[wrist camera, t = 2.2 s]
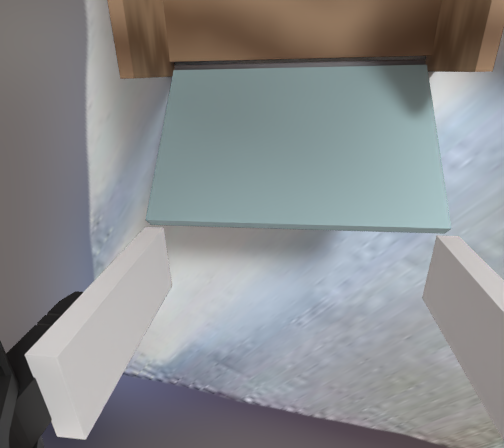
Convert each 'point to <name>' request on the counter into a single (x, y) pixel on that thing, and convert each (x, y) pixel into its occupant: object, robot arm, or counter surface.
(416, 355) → the counter surface
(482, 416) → the counter surface
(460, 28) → the open wooden tray
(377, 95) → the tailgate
